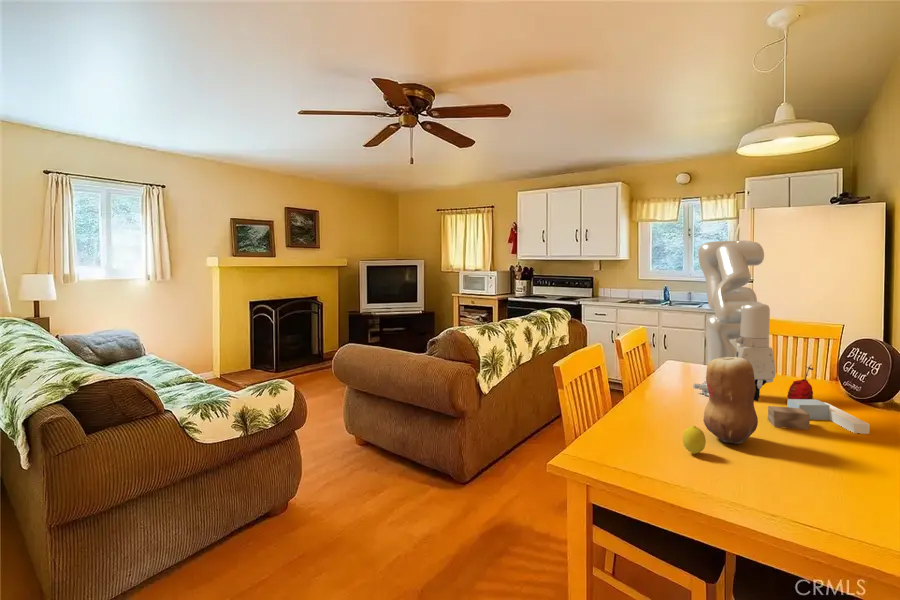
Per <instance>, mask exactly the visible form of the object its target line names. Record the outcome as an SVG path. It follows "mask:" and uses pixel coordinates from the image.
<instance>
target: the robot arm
mask: <svg viewBox="0 0 900 600" xmlns="http://www.w3.org/2000/svg"><path fill="white" fill-rule="evenodd" d="M764 259H765V252H764V248H763V246H762V245H761V244H760V243H758V242H757V241H752V240H751V241H750V240H723V241H721V240H719V241H710V242H705V243H703V244H701V246H699V249H698V262H699V266H700V269H701V271H702V273H703V275H704V279H705V285H706V286H705V287H706V296H707V303H708V307H709V309H710V310H712V311H714V314H711V315H710V316H708V317H707V318H706V321H705V330H706V335H707V338H706V339H707V365H708V364H709V362H710V361H712V360H714V359H718V358H724V357H739V358H744V359H746V360H747V361H749V362H750V364H751V365H752V367H753V371H754V377H755V385H756V392H755V396H754V402H758V401H759V398H760V397H761V396H760V394H761V391H760V389H762V388H763V386H764V385H766V384H770V383H773V382H774V379H776V362H775V356H774V351H773V347H770V323H771V322H770V318H771V315H770V314H771V313H770V312H771V309H770V306H769V305H768V304H766V303H762V302H760V301H758V300H757V299H758V298H757V295H756V293H755V290H754V289H752V288H750V287H749V286H748V287H747V286H745V285H747V284H749V283H750V281H751V279H752V275H751V272H750V269H749V267H752V266H753V267H754V266H759V265H761V264H762V263H763V262H764ZM730 340H735V344H739V345H738V346H737V347H735V345H733V343H731V341H730ZM692 386H693V390H694V389H695V390H699V391H701V393H702V394H703V395H704V396H706V397H709V392H708V387H707V382H706V380H705V381H704V382H702V383H693V385H692Z"/></svg>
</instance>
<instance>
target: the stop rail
mask: <svg viewBox="0 0 900 600" xmlns="http://www.w3.org/2000/svg"><path fill="white" fill-rule="evenodd" d="M822 402H823V403H825V404H828V405H830V407H829V420H828V421H830V422H832V423H834V424H836V425H838V426H839V425H840V426H839V427H841V426H842V428H844V429H845V430H847V431H849V432H850V431H851V433H852V432H853V433H852V434H857V433H860V434H861V435H862V434H863V435H870V427H871V424H870V423H868V422H866V421H864V420H862V419H860V418H858V417H856V416H854V415H852V414H850V413H848V412H846V411H844V410H843V409H840V408H838V407H836V406H834V405H832V404H831V403H828V402H824V401H822ZM860 434H859V435H860Z"/></svg>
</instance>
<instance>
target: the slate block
mask: <svg viewBox="0 0 900 600" xmlns="http://www.w3.org/2000/svg"><path fill="white" fill-rule="evenodd" d="M823 402H824V401H821V400H819V399H814V398H813V399H788V398H787V403H786V405H787V406H786V407H789V408H802V409H803V410H804V411H806V412H807V413H808V414H809V415H810V420H815V421H816V420H817V421H819V420H820V421H821V420H822V421H823V420H824V421H825V420H826V421H830V420H829V407H830V405H831V404H830V405H828V404H829V403H828V404H825V403H826V402H825V403H823Z"/></svg>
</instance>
